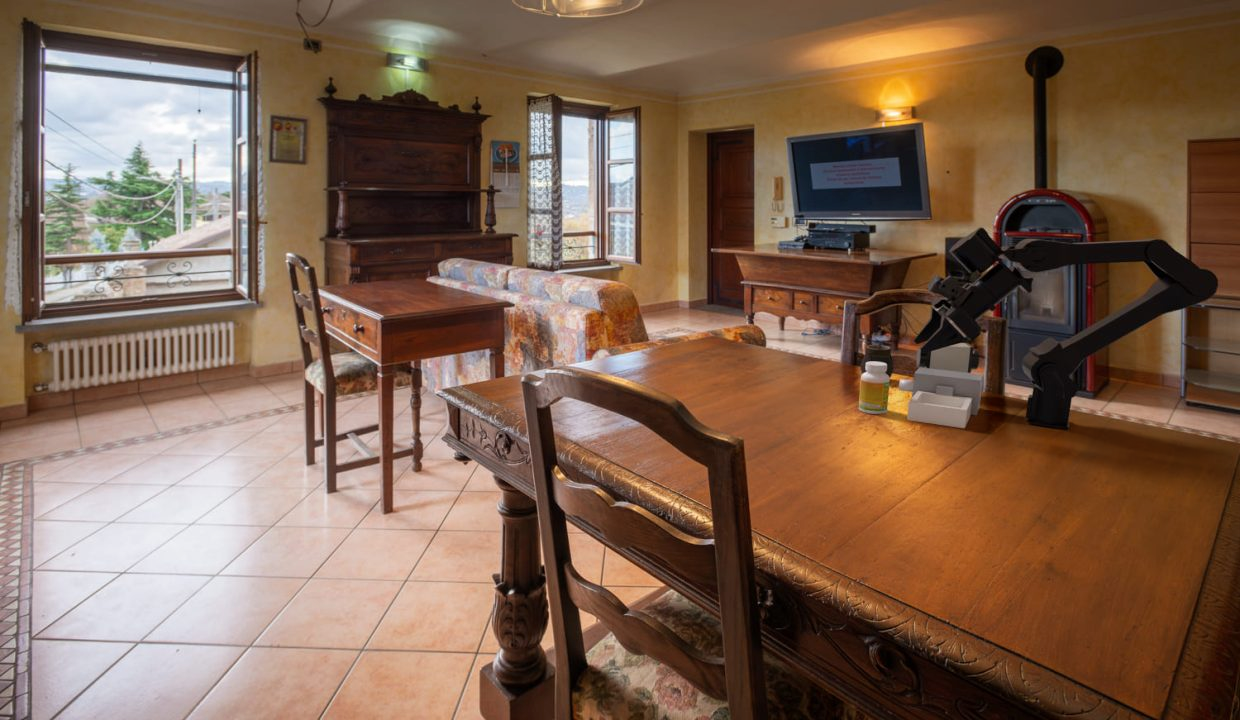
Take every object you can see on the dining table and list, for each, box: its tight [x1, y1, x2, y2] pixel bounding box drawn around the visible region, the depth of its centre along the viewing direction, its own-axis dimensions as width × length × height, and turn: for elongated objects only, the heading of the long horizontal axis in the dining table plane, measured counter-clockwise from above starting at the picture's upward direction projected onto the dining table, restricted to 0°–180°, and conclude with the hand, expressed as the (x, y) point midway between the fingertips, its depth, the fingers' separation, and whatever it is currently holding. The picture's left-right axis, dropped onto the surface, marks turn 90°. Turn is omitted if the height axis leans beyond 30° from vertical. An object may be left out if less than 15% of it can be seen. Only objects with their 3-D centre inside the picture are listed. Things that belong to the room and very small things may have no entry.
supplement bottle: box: [858, 361, 891, 415], centre depth 139 cm, size 5×5×10 cm
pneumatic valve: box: [916, 341, 980, 373], centre depth 153 cm, size 6×12×12 cm, turn 77°
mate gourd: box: [860, 341, 895, 378], centre depth 164 cm, size 7×8×10 cm
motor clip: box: [898, 367, 984, 429], centre depth 138 cm, size 15×16×7 cm
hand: (918, 346), depth 136 cm, fingers open, 9 cm apart
